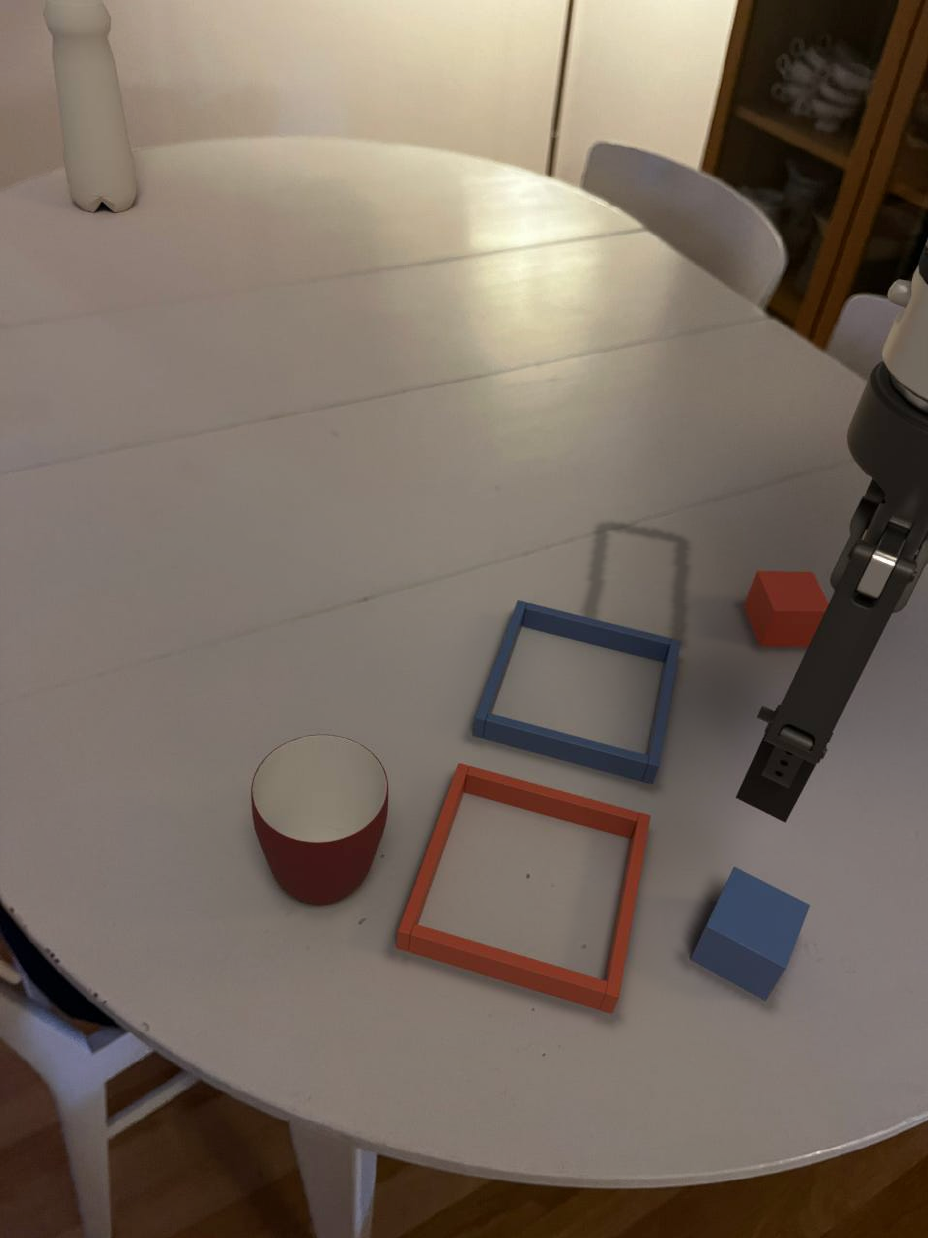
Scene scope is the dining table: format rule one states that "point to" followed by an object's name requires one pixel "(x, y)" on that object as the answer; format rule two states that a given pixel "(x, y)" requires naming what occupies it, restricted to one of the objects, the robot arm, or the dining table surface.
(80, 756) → the dining table surface
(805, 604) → the red block
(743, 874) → the blue block
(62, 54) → the bottle
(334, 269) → the dining table surface
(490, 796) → the red tray
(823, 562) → the dining table surface
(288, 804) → the mug
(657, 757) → the blue square frame
